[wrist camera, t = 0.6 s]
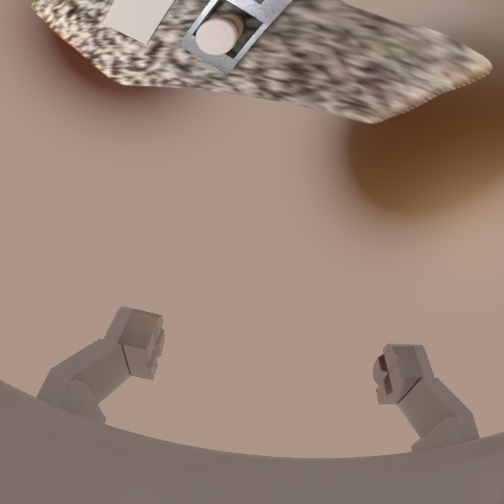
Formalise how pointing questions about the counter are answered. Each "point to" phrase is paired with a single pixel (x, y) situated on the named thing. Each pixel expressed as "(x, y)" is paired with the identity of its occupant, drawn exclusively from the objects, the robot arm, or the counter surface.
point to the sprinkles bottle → (220, 33)
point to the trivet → (137, 17)
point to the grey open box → (264, 9)
